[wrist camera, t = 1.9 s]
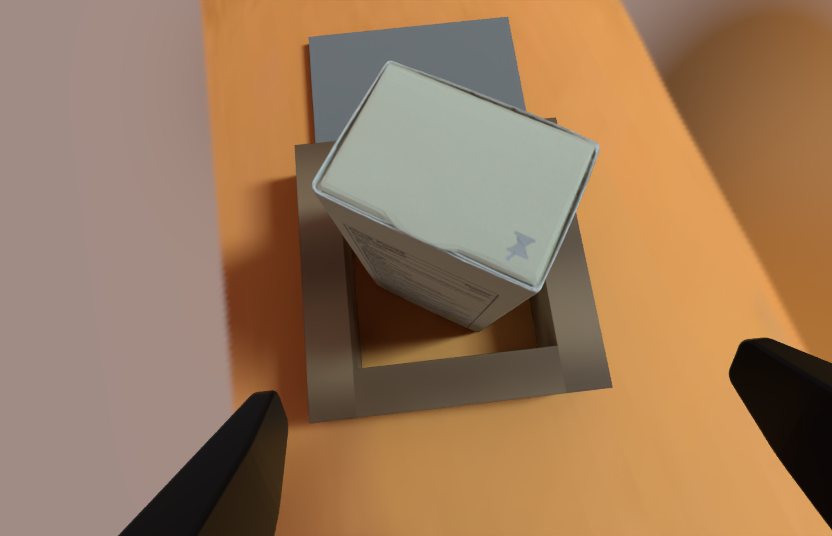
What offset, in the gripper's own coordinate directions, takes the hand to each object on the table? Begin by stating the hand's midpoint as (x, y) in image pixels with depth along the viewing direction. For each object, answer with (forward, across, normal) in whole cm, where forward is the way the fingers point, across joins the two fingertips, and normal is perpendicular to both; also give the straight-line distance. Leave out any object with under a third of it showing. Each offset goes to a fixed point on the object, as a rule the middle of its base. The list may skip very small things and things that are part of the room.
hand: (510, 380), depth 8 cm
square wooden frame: (+13, 0, +5) cm, 14 cm away
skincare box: (+13, 0, +5) cm, 14 cm away
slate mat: (+20, 0, -3) cm, 21 cm away
